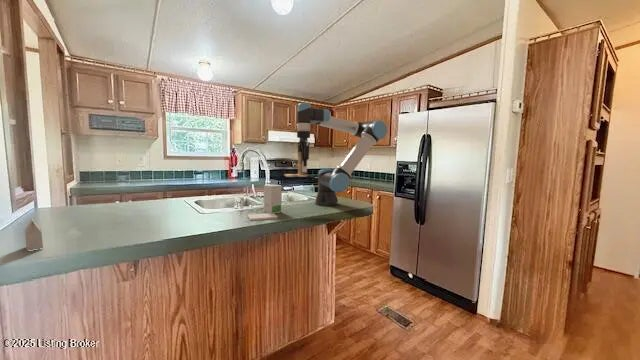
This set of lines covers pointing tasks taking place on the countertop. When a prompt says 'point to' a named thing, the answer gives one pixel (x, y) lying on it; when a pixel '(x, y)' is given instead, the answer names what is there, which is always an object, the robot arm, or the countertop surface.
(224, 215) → the countertop surface
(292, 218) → the countertop surface
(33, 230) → the tea bag
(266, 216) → the mat
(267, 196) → the skincare box
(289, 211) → the countertop surface
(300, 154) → the wooden bracket
